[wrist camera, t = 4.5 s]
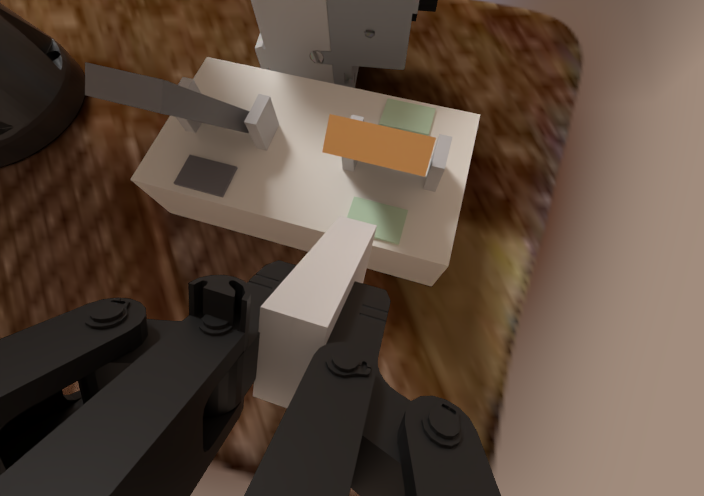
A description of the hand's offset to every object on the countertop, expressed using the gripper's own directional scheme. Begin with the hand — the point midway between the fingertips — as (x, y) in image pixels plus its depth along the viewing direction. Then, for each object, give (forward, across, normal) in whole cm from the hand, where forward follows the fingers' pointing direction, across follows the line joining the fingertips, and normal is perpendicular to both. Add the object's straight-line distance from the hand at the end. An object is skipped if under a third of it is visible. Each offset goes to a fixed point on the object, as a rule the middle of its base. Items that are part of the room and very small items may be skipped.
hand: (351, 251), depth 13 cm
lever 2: (+10, 0, +2) cm, 11 cm away
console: (+15, -6, -2) cm, 16 cm away
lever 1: (+10, -12, +2) cm, 16 cm away
